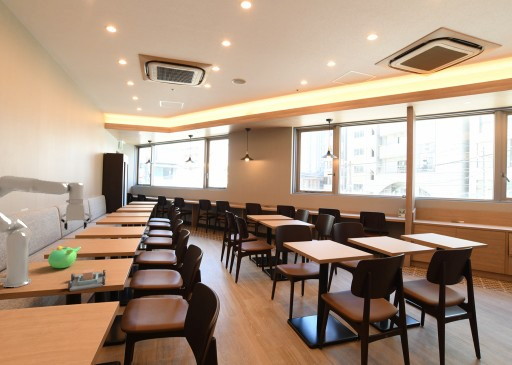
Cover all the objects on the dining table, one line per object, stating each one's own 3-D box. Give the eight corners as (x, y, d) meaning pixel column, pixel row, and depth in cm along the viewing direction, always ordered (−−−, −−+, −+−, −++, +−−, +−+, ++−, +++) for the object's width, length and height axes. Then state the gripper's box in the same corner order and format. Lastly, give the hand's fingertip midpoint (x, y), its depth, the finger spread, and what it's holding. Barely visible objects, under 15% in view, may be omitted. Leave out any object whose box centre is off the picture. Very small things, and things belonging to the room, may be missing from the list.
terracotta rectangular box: (82, 283, 159) (82, 273, 159) (83, 279, 165) (83, 269, 165) (92, 282, 162) (92, 272, 161) (93, 278, 168) (93, 268, 168)
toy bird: (54, 264, 196) (54, 243, 196) (81, 262, 201) (81, 242, 201) (43, 272, 179) (43, 250, 179) (73, 270, 184) (73, 248, 184)
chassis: (67, 291, 150) (67, 283, 150) (72, 278, 169) (72, 271, 168) (104, 286, 159) (105, 278, 158) (105, 274, 177) (105, 268, 177)
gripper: (58, 202, 164) (57, 231, 164) (91, 202, 172) (91, 229, 173) (60, 201, 171) (59, 229, 171) (92, 201, 179) (91, 227, 179)
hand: (75, 229), depth 172 cm, fingers open, 9 cm apart
